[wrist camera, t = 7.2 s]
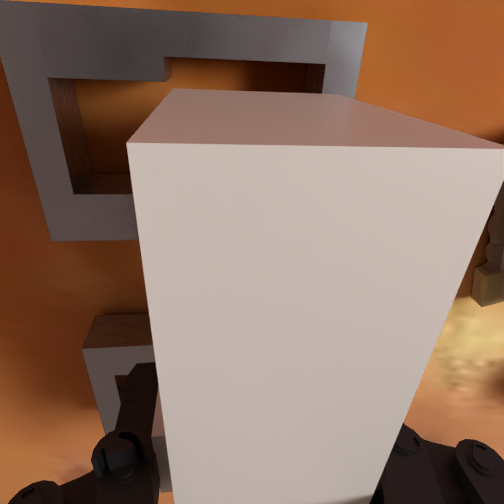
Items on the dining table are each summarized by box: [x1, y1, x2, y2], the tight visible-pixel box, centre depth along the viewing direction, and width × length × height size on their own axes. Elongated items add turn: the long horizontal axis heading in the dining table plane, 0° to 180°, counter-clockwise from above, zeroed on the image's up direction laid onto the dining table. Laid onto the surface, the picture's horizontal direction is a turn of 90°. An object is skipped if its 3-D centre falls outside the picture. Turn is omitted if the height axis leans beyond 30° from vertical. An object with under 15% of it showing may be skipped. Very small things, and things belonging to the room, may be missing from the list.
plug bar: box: [126, 88, 504, 504], centre depth 12 cm, size 18×4×8 cm, turn 178°
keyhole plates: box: [0, 0, 368, 435], centre depth 17 cm, size 22×12×2 cm, turn 178°
